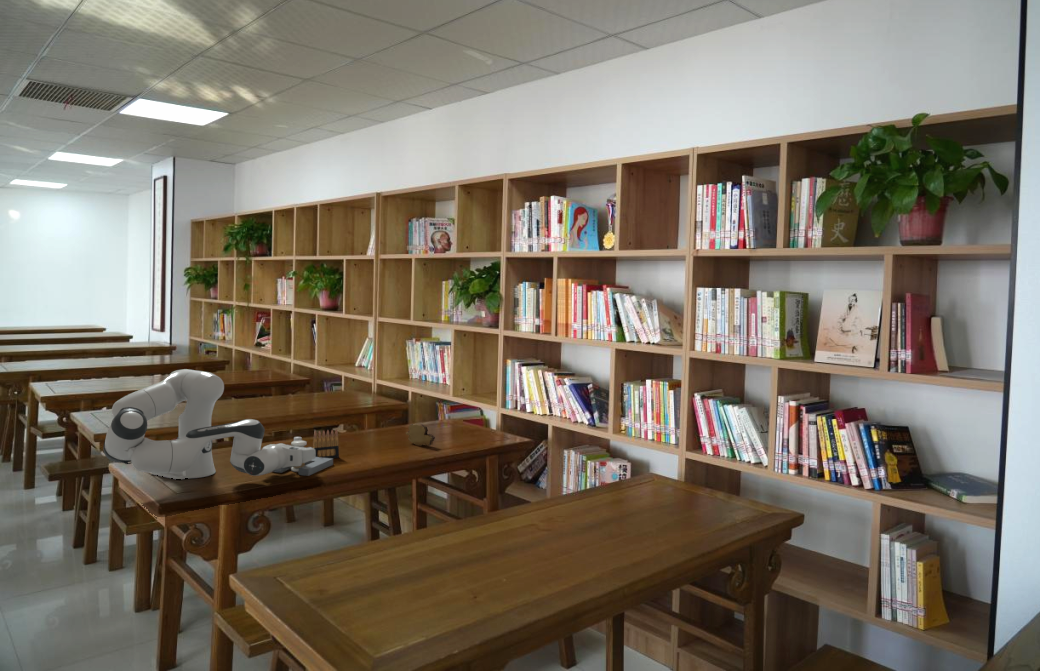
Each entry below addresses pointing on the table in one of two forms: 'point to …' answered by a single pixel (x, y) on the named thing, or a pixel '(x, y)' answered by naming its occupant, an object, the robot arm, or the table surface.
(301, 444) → the bobbin
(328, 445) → the ammunition clip
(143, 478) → the table surface
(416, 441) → the wooden carving
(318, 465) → the notched board
